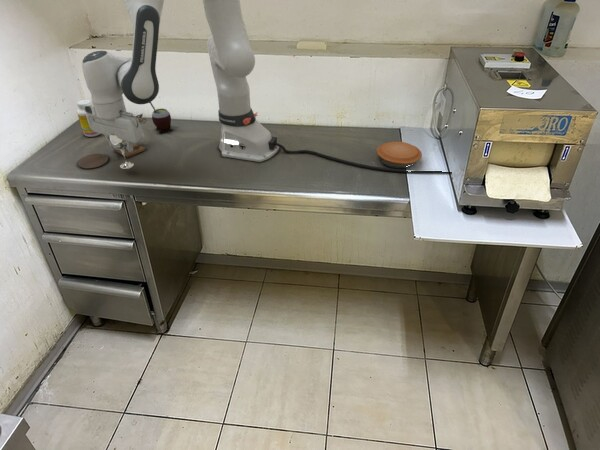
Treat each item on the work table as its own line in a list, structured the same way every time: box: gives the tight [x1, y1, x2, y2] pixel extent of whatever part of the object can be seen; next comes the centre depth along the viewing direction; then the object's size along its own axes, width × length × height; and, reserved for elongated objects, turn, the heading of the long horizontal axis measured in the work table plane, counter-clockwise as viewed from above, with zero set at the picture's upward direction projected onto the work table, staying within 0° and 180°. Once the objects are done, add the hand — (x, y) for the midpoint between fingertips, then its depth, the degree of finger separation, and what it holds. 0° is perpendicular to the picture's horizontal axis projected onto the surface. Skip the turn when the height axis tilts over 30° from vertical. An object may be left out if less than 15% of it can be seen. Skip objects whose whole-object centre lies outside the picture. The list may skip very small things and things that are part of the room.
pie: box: [376, 141, 423, 170], centre depth 153 cm, size 15×16×5 cm
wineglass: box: [109, 134, 135, 170], centre depth 142 cm, size 6×6×12 cm
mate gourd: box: [148, 101, 172, 135], centre depth 169 cm, size 8×8×15 cm
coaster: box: [77, 153, 109, 170], centre depth 153 cm, size 10×10×1 cm
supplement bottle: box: [76, 99, 101, 138], centre depth 167 cm, size 7×7×13 cm
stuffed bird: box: [113, 112, 148, 159], centre depth 154 cm, size 10×20×17 cm, turn 161°
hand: (122, 148), depth 142 cm, fingers closed on wineglass, 5 cm apart
